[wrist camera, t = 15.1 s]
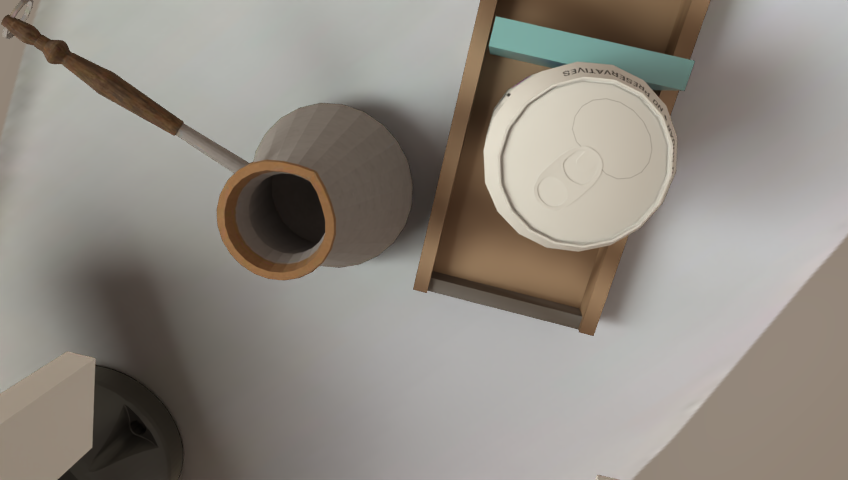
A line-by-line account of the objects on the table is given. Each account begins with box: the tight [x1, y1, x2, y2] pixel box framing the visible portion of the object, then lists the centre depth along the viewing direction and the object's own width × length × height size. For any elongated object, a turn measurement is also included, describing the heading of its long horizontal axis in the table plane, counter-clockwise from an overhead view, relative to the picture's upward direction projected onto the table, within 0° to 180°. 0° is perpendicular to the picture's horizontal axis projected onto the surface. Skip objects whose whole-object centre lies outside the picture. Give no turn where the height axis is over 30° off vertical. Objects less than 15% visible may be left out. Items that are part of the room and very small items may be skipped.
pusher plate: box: [489, 16, 695, 91], centre depth 31 cm, size 2×10×7 cm, turn 77°
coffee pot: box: [1, 0, 413, 280], centre depth 33 cm, size 21×12×15 cm, turn 50°
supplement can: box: [483, 62, 677, 252], centre depth 29 cm, size 8×8×15 cm
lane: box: [413, 0, 710, 336], centre depth 34 cm, size 24×13×8 cm, turn 168°
